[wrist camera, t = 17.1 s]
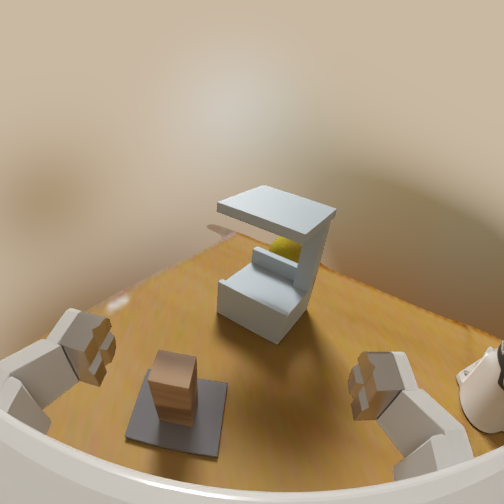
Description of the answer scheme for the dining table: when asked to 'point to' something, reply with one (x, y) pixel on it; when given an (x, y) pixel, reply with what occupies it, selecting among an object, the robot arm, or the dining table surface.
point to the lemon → (286, 249)
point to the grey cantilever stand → (274, 261)
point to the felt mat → (179, 436)
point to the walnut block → (174, 387)
